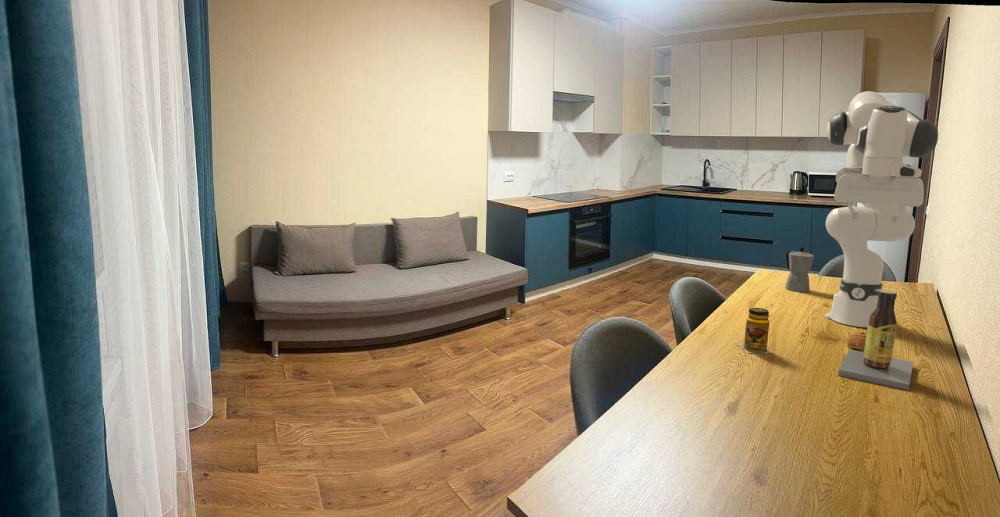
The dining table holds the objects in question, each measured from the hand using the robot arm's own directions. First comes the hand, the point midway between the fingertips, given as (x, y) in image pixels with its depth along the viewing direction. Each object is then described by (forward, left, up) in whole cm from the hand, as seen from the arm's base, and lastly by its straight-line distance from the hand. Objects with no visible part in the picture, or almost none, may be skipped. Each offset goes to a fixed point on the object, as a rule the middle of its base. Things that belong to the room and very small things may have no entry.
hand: (874, 220), depth 159 cm
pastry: (-12, 0, -39) cm, 41 cm away
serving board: (+10, +6, -38) cm, 40 cm away
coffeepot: (-80, -30, -39) cm, 94 cm away
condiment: (+12, -24, -39) cm, 47 cm away
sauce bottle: (+10, +6, -37) cm, 39 cm away
